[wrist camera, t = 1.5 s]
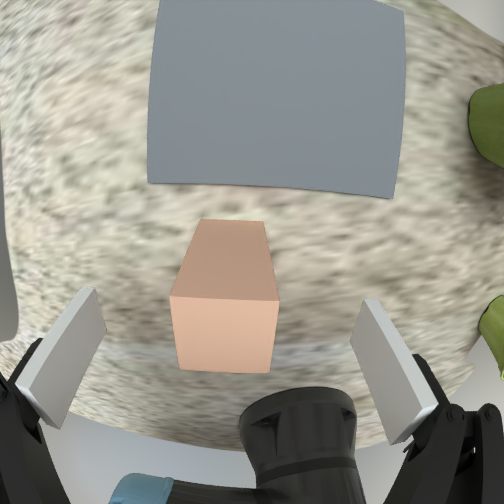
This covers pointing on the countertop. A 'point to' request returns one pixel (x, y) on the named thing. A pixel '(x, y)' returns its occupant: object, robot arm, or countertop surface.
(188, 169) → the mat
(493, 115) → the plant pot
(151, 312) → the countertop surface
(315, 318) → the countertop surface
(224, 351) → the block
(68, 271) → the countertop surface
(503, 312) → the plant pot
